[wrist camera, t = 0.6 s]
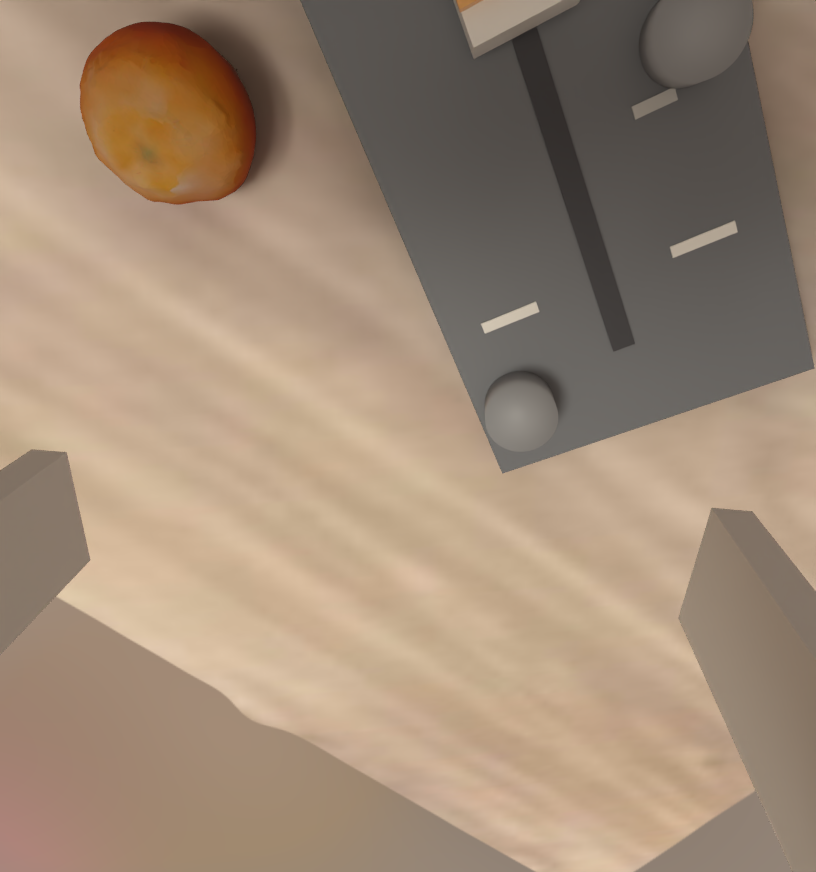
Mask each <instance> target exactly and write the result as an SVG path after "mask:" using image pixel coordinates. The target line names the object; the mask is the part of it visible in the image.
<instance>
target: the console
mask: <svg viewBox="0 0 816 872" xmlns="http://www.w3.org/2000/svg"><path fill="white" fill-rule="evenodd" d="M300 1H301V3H302V6H303V8H304V10H305V13H306V15H307V17H308V20H309V22H310V24H311V27H312V29H313V31H314V34H315V36H316V38H317V41H318V43H319V45H320V48H321V50H322V52H323V55H324V57H325V59H326V62H327V64H328V66H329V69H330V71H331V73H332V76H333V78H334V80H335V83H336V85H337V87H338V90H339V92H340V94H341V97H342V99H343V101H344V104H345V106H346V108H347V111H348V113H349V116H350V118H351V120H352V123H353V125H354V127H355V130H356V132H357V134H358V137H359V139H360V141H361V144H362V146H363V148H364V151H365V153H366V155H367V158H368V160H369V162H370V165H371V167H372V169H373V172H374V174H375V176H376V179H377V181H378V183H379V186H380V188H381V190H382V193H383V195H384V197H385V200H386V202H387V204H388V207H389V209H390V211H391V214H392V216H393V218H394V221H395V223H396V225H397V228H398V230H399V232H400V235H401V237H402V239H403V242H404V244H405V247H406V249H407V251H408V254H409V256H410V258H411V261H412V263H413V265H414V268H415V270H416V272H417V275H418V277H419V279H420V282H421V284H422V286H423V289H424V291H425V293H426V296H427V298H428V300H429V303H430V305H431V307H432V310H433V312H434V314H435V317H436V319H437V321H438V324H439V326H440V328H441V331H442V333H443V335H444V338H445V340H446V342H447V345H448V347H449V349H450V352H451V354H452V356H453V359H454V361H455V363H456V366H457V368H458V370H459V373H460V375H461V378H462V380H463V382H464V385H465V387H466V389H467V392H468V394H469V396H470V399H471V401H472V403H473V406H474V408H475V410H476V413H477V415H478V417H479V420H480V422H481V424H482V427H483V429H484V431H485V434H486V436H487V438H488V441H489V443H490V445H491V448H492V450H493V452H494V455H495V457H496V459H497V462H498V464H499V466H500V469H501V471H502V473H505V472H508V471H511V470H514V469H517V468H520V467H523V466H526V465H529V464H532V463H535V462H538V461H541V460H544V459H547V458H550V457H553V456H556V455H559V454H562V453H565V452H568V451H571V450H574V449H576V448H579V447H582V446H585V445H588V444H591V443H594V442H597V441H600V440H603V439H606V438H609V437H612V436H615V435H618V434H621V433H624V432H627V431H630V430H633V429H636V428H639V427H642V426H645V425H648V424H651V423H654V422H657V421H660V420H663V419H666V418H668V417H671V416H674V415H677V414H680V413H683V412H686V411H689V410H692V409H695V408H698V407H701V406H704V405H707V404H710V403H713V402H716V401H719V400H722V399H725V398H728V397H731V396H734V395H737V394H740V393H743V392H746V391H749V390H752V389H755V388H758V387H760V386H763V385H766V384H769V383H772V382H775V381H778V380H781V379H784V378H787V377H790V376H793V375H796V374H799V373H802V372H805V371H808V370H811V369H814V363H813V359H812V354H811V349H810V344H809V339H808V334H807V329H806V324H805V319H804V314H803V309H802V304H801V299H800V295H799V290H798V285H797V280H796V275H795V270H794V265H793V260H792V255H791V250H790V245H789V240H788V235H787V230H786V226H785V221H784V216H783V211H782V206H781V201H780V196H779V191H778V186H777V181H776V176H775V171H774V166H773V162H772V157H771V152H770V147H769V142H768V137H767V132H766V127H765V122H764V117H763V112H762V107H761V102H760V98H759V93H758V88H757V83H756V78H755V73H754V68H753V63H752V58H751V53H750V48H749V43H748V39H749V36H750V33H751V29H752V25H753V3H752V0H580V1H579V3H578V4H577V5H576V6H574V7H572V8H570V9H568V10H566V11H564V12H562V13H560V14H558V15H557V16H555V17H553V18H551V19H549V20H547V21H545V22H543V23H541V24H540V25H538V26H536V27H534V28H532V29H530V30H528V31H526V32H524V33H522V34H521V35H519V36H517V37H515V38H513V39H511V40H509V41H507V42H505V43H503V44H502V45H500V46H498V47H496V48H494V49H492V50H490V51H488V52H486V53H485V54H483V55H481V56H479V57H477V58H475V59H473V56H472V53H471V50H470V47H469V44H468V41H467V39H466V36H465V33H464V30H463V27H462V24H461V21H460V18H459V16H458V13H457V10H456V7H455V4H454V1H453V0H300Z"/></svg>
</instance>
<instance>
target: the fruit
mask: <svg viewBox="0 0 816 872" xmlns="http://www.w3.org/2000/svg"><path fill="white" fill-rule="evenodd" d="M236 71H237V69H236V70H235V69H234V68H233V67H232V65H231V64H230V63H229V62H228V61H226V60H225V58H224V57H223V56H221V55H220V54H219V53H218V52H217V51H216V50H215V49H214V48H213V47H212V46H211V45H210V44H209V43H208V42H207V41H205V40H204V39H203V38H201V37H200V36H199V35H197V34H195V33H194V32H192V31H191V30H189V29H187V28H185V27H181V26H178V25H175V24H170V23H162V22H140V23H135V24H132V25H129V26H127V27H124V28H122V29H119V30H117V31H115V32H114V33H112V34H111V35H110V36H108V37H106V38H105V39H104V40H103V41H102V42H101V43H100V44H99V45H98V46H97V47H96V48H95V49H94V50H93V51H92V52H91V54H90V55H89V57H88V59H87V61H86V64H85V67H84V70H83V74H82V78H81V82H80V91H81V95H80V109H81V113H82V119H83V121H84V123H85V128H86V131H87V134H88V136H89V139H90V141H91V143H92V145H93V149H94V152H95V154H96V156H97V157H98V159H99V160H100V161H101V162H103V163H104V164H105V165H106V166H107V167H108V168H109V169H110V170H111V171H112V172H113V173H115V174H116V175H117V176H118V177H119V178H120V179H121V180H122V181H123V182H124V183H125V184H126V185H128V186H129V187H130V188H132V189H133V190H134V191H136V192H137V193H139V194H140V195H142V196H143V197H145V198H146V199H148V200H150V201H153V202H165V203H171V204H185V203H191V202H196V201H210V200H219V199H221V198H224V197H226V196H227V195H229V194H231V193H233V192H235V191H236V190H237V189H238V188H239V187H240V186H241V185H242V184H243V182H244V181H245V179H246V177H247V175H248V172H249V169H250V166H251V163H252V159H253V156H254V149H255V142H256V126H255V118H254V112H253V108H252V105H251V101H250V99H249V96H248V94H247V92H246V90H245V87H244V85H243V84H242V82H241V81H240V79H239V77H238V74H237V72H236Z"/></svg>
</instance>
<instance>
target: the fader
mask: <svg viewBox="0 0 816 872" xmlns="http://www.w3.org/2000/svg"><path fill="white" fill-rule="evenodd" d="M453 1H454V4H455V7H456V10H457V13H458V16H459V18H460V21H461V24H462V27H463V30H464V33H465V36H466V39H467V41H468V44H469V47H470V50H471V53H472V56H473V59H475V58H477V57H479V56H481V55H483V54H485V53H486V52H488V51H490V50H492V49H494V48H496V47H498V46H500V45H502V44H503V43H505V42H507V41H509V40H511V39H513V38H515V37H517V36H519V35H521V34H522V33H524V32H526V31H528V30H530V29H532V28H534V27H536V26H538V25H540V24H541V23H543V22H545V21H547V20H549V19H551V18H553V17H555V16H557V15H558V14H560V13H562V12H564V11H566V10H568V9H570V8H572V7H574V6H576V5H577V4H578V3H579V1H580V0H453Z"/></svg>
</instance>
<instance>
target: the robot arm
mask: <svg viewBox="0 0 816 872" xmlns="http://www.w3.org/2000/svg"><path fill="white" fill-rule="evenodd" d="M89 561H90V556H89V552H88V547H87V543H86V538H85V534H84V529H83V524H82V520H81V515H80V511H79V506H78V502H77V497H76V493H75V488H74V484H73V479H72V475H71V470H70V465H69V461H68V456H67V452H56V451H44V450H30V451H29V452H27V453H26V454H24V455H23V456H21V457H20V458H18V459H17V460H15V461H14V462H12V463H11V464H9V465H8V466H6V467H5V468H3V469H2V470H0V655H1V654H2V653H3V652H4V651H5V650H6V649H7V647H8V646H9V645H10V644H11V643H12V642H13V641H14V640H15V639H16V638H17V637H18V636H19V635H20V634H21V633H22V632H23V631H24V630H25V628H26V627H27V626H28V625H29V624H30V623H31V622H32V621H33V620H34V619H35V618H36V617H37V616H38V615H39V614H40V613H41V612H42V610H43V609H44V608H45V607H46V606H47V605H48V604H49V603H50V602H51V601H52V600H53V599H54V598H55V597H56V596H57V595H58V594H59V593H60V592H61V590H62V589H63V588H64V587H65V586H66V585H67V584H68V583H69V582H70V581H71V580H72V579H73V578H74V577H75V576H76V575H77V574H78V573H79V571H80V570H81V569H82V568H83V567H84V566H85V565H86V564H87V563H88V562H89ZM679 620H680V623H681V625H682V627H683V629H684V632H685V634H686V636H687V638H688V641H689V643H690V645H691V647H692V649H693V652H694V654H695V656H696V658H697V661H698V663H699V665H700V667H701V670H702V672H703V674H704V676H705V678H706V681H707V683H708V685H709V687H710V690H711V692H712V694H713V696H714V699H715V701H716V703H717V705H718V707H719V710H720V712H721V714H722V716H723V719H724V721H725V723H726V725H727V728H728V730H729V732H730V734H731V736H732V739H733V741H734V743H735V745H736V748H737V750H738V752H739V754H740V757H741V759H742V761H743V763H744V765H745V768H746V770H747V772H748V774H749V777H750V779H751V781H752V783H753V786H754V788H755V790H756V792H757V794H758V797H759V799H760V801H761V803H762V806H763V808H764V810H765V812H766V815H767V817H768V819H769V821H770V823H771V826H772V828H773V830H774V832H775V835H776V837H777V839H778V841H779V844H780V846H781V848H782V850H783V852H784V855H785V857H786V859H787V861H788V863H789V866H790V868H791V870H792V872H816V591H815V590H814V589H813V587H812V586H811V585H810V584H809V582H808V581H807V580H806V579H805V577H804V576H803V575H802V573H801V572H800V571H799V570H798V568H797V567H796V566H795V565H794V563H793V562H792V561H791V560H790V558H789V557H788V556H787V555H786V553H785V552H784V551H783V549H782V548H781V547H780V546H779V544H778V543H777V542H776V541H775V539H774V538H773V537H772V536H771V534H770V533H769V532H768V531H767V529H766V528H765V527H764V526H763V524H762V523H761V522H760V520H759V519H758V518H757V517H756V515H755V514H754V513H753V512H752V511H742V510H730V509H718V508H711V512H710V515H709V518H708V522H707V525H706V528H705V532H704V535H703V538H702V541H701V545H700V548H699V551H698V555H697V558H696V561H695V565H694V568H693V571H692V575H691V578H690V581H689V585H688V588H687V591H686V594H685V598H684V601H683V604H682V608H681V611H680V614H679Z"/></svg>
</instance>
